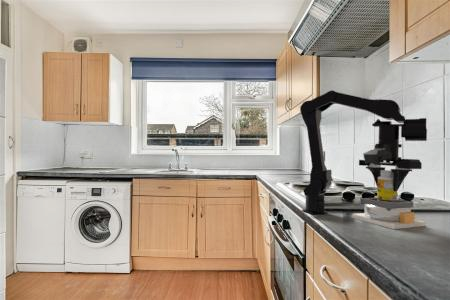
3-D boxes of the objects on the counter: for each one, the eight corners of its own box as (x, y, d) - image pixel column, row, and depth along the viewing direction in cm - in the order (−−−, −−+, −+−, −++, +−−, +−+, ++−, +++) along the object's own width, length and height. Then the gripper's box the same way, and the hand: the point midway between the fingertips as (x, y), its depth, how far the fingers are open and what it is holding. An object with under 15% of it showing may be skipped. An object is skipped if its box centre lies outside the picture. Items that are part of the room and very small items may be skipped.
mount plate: (351, 217, 105) (351, 213, 105) (380, 215, 110) (380, 211, 110) (394, 229, 91) (394, 224, 91) (425, 225, 96) (425, 221, 96)
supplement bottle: (376, 200, 104) (377, 169, 104) (395, 202, 102) (396, 170, 102) (377, 203, 99) (378, 170, 99) (397, 205, 97) (398, 171, 97)
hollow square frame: (355, 214, 104) (355, 198, 104) (384, 212, 109) (384, 196, 109) (393, 224, 91) (393, 205, 91) (424, 221, 96) (425, 203, 96)
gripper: (346, 140, 106) (345, 187, 106) (396, 139, 89) (394, 195, 89) (371, 141, 110) (370, 186, 110) (423, 140, 93) (422, 194, 93)
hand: (387, 190), depth 101 cm, fingers closed on supplement bottle, 6 cm apart
